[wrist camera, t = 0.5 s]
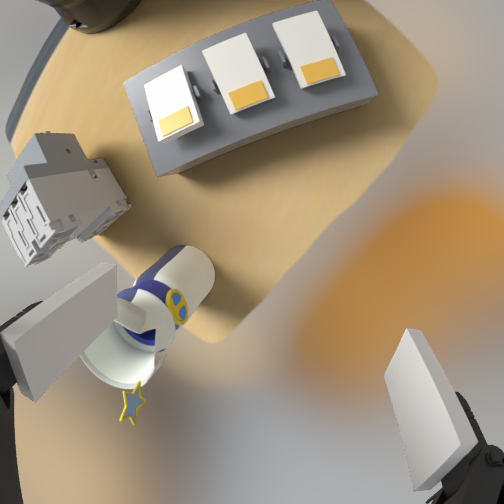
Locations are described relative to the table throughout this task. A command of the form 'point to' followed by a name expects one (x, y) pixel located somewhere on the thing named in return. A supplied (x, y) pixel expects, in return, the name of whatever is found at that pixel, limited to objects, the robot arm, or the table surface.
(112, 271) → the robot arm
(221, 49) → the block
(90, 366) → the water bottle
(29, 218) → the circuit breaker
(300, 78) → the rocker
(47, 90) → the table surface
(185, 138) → the panel
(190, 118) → the rocker
